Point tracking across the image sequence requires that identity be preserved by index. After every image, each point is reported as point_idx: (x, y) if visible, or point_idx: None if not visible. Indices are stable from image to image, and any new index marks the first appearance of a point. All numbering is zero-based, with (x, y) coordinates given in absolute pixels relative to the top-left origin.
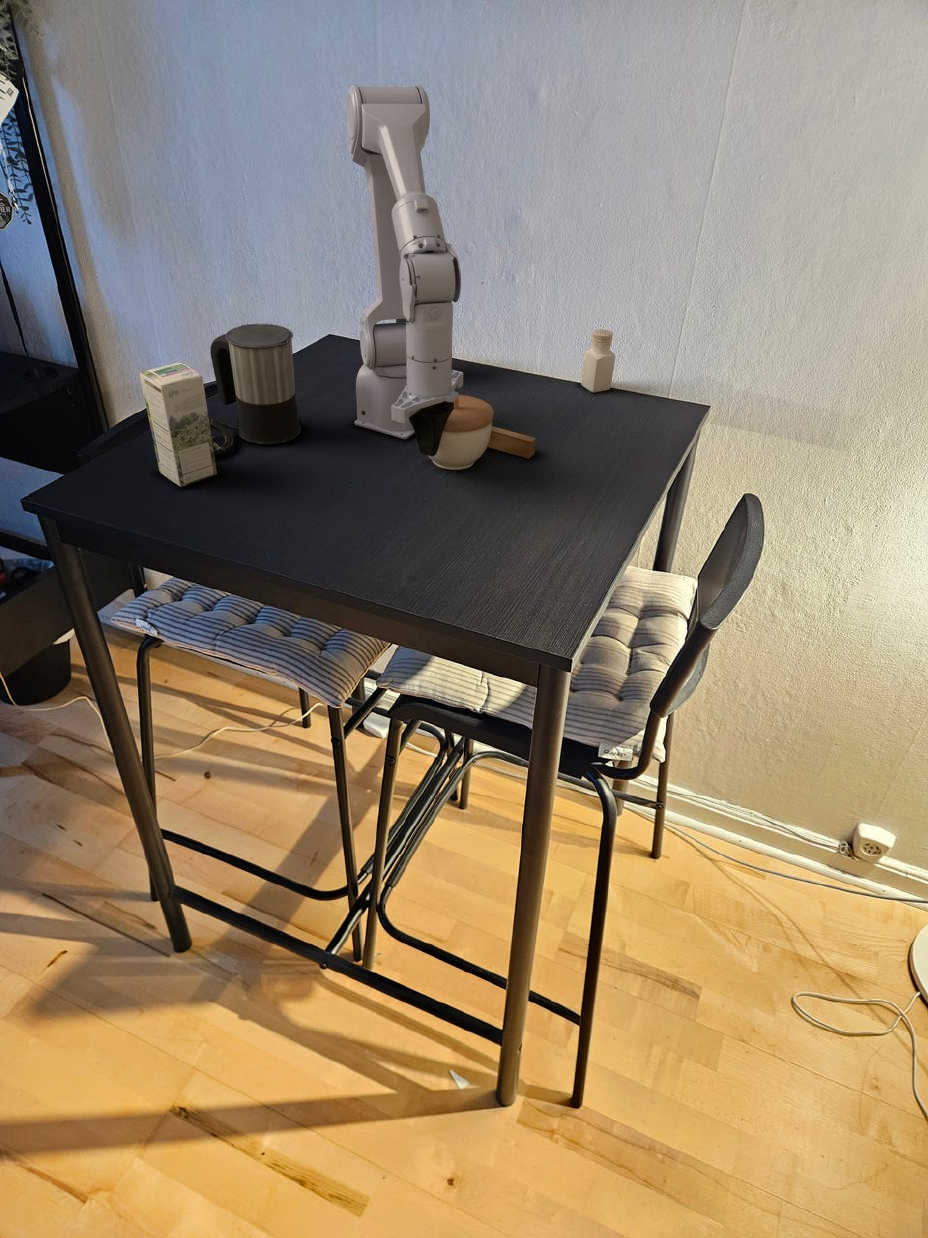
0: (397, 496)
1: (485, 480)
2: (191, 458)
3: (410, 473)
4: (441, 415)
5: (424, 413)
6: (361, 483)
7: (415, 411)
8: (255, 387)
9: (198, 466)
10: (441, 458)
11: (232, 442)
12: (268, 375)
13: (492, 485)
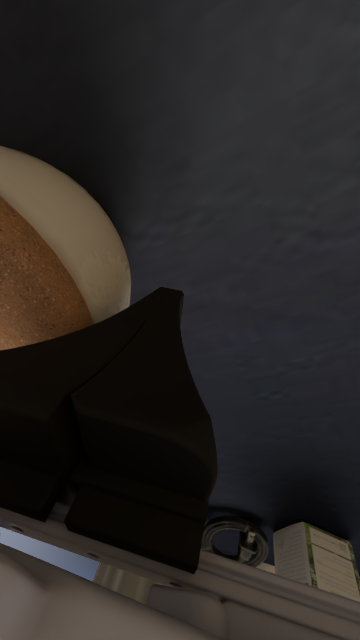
0: (300, 308)
1: (105, 97)
2: (342, 581)
3: None
4: (157, 421)
5: (205, 507)
6: (262, 383)
7: (268, 583)
8: None
9: (331, 557)
10: (129, 268)
11: (226, 522)
12: None
13: (120, 46)
